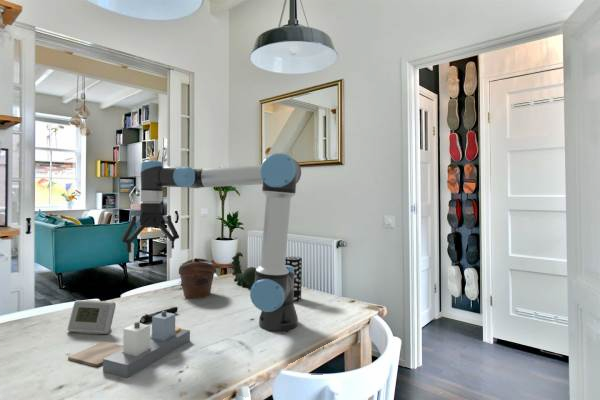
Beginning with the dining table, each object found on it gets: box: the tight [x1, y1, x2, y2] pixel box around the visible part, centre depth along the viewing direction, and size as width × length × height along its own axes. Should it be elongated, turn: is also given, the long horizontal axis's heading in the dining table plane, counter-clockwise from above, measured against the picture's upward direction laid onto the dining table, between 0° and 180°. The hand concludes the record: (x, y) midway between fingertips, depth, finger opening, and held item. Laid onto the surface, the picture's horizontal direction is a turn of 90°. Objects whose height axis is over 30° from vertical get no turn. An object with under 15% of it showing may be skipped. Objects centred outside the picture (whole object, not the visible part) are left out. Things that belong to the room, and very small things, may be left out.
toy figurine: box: [231, 251, 257, 289], centre depth 190 cm, size 9×19×25 cm
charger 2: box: [151, 310, 176, 341], centre depth 112 cm, size 5×5×10 cm
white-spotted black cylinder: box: [285, 256, 303, 303], centre depth 166 cm, size 8×8×20 cm
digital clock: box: [67, 299, 116, 335], centre depth 124 cm, size 16×9×11 cm, turn 72°
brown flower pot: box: [178, 257, 217, 299], centre depth 172 cm, size 18×20×18 cm
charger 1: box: [122, 321, 151, 357], centre depth 102 cm, size 5×5×10 cm
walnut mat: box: [67, 341, 123, 368], centre depth 106 cm, size 12×12×1 cm
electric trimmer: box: [139, 306, 179, 325], centre depth 139 cm, size 4×16×3 cm, turn 143°
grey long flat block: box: [102, 326, 191, 379], centre depth 107 cm, size 9×26×4 cm, turn 159°
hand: (151, 259), depth 128 cm, fingers open, 13 cm apart
